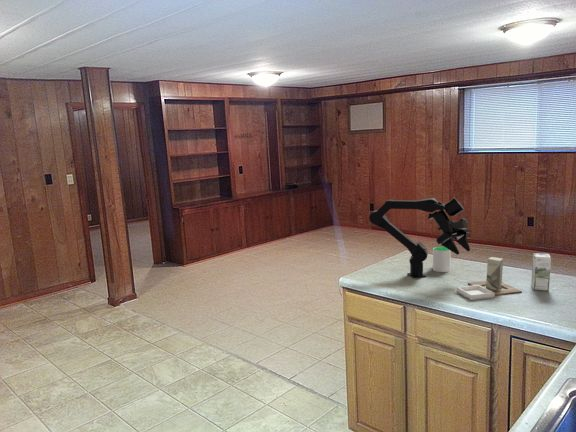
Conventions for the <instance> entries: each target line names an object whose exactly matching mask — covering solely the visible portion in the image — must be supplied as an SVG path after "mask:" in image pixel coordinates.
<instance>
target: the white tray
mask: <svg viewBox="0 0 576 432" xmlns="http://www.w3.org/2000/svg"><path fill="white" fill-rule="evenodd" d="M484 287H485V286H483V287H482V286H480V285H474V286H471V285H465V286H457V287H456V293H457V294H458V295H460V296H462V297H464V298H466V299H468V300H470V301H477V300H487V299H494V298H495V296H494V294H495V293H494V292H492V291H493V290H491V289H489V290H488V288H487V289H486V287H485V288H484ZM490 290H491V291H490Z"/></svg>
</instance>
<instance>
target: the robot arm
mask: <svg viewBox="0 0 576 432" xmlns="http://www.w3.org/2000/svg"><path fill="white" fill-rule="evenodd" d="M397 209H398V210H419V211H422V212H428V217H427V220H430V221H431V220H434V222H435V223H436V225H437V226H438V228H437V230H438V231H441V232H442V233H441V234H440V235H439V236H438V237H436V239H435V242H436V243H437V244H438V245H440V247H446V248H447V249H449V250H451V253H454V254H456V255H460V251H459V249H458V247H457V245H456V244H455V242H454V241H455V240H456V243H457V244H458V245H459V246H461V247H462V248H463V249H464V250H466V252H471V247H470V245H469V241H468V240H469V239H468V236H469V235H470V231H469V229H468V227H469V226H468V224H469V221H468V219H466V217H465V218H459V221H455V220H451V219H450V217H453V218H454V217H455V216H456V215H458V214H460V213H462V212H464V210H465V208H464V207H463V205H462V204H461V202H459V201H458V199H456V197H453V198H451V200H449V201H448V202H446V203H443V202H440V201H438V200H437V199H436V198H434V197H429V198H427V197H426V198H423V199H416V200H409V199H406V200H404V199H399V200H398V199H387V200H386V201H385V202H384V204H382V205H381V207H379V209H375V210H373V211H372V212H371V213H370V214H369V216H368V219H369V222H370V223H372V225H375V226H376V227H379V228H380V229H383V230H384V231H386V232H387V233H388V234H389V235H391V236H392V237H393V238H395V239H396V240H397V241H398V242H399V243H400V244H402V245H403V246H404V247H405V248H406V249H407V250H408V252H409V253H410V255H411V256H410V258H409V260H408V261H409V266H410V267H409V272H407V273H406V274H407V275H408V276H409V277H411V278H412V279H415V278H417V279H418V278H425V277H426V276H427V275H426V274H424V263H423V262H425V261H426V260H427V259H428V255H429V250H428V248H427V246H426V245H425V244H423V243H422V241H420V240H418V242H415V241H414V240H412V239H411V238H410V237H409V236H408V235H406V234H405V233H404V232H403V231H402V230H400V229H399V228H398V227H397V226H396V225H394V224H393V223H391V221H390V220H389V219H388V217H387V216H386V214H387V213H388V211H390V210H397Z"/></svg>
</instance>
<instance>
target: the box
mask: <svg viewBox="0 0 576 432" xmlns="http://www.w3.org/2000/svg"><path fill="white" fill-rule="evenodd" d="M503 267H504V258H501V257H495V256H490V257H489V258H487V269H486V280H485V281H486V286H485V288H487V289H489V290H492V291H494V290H501V289H502V287H501V285H502V282H503Z"/></svg>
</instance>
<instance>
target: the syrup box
mask: <svg viewBox="0 0 576 432" xmlns="http://www.w3.org/2000/svg"><path fill="white" fill-rule="evenodd" d="M551 266H552V257H551V254H549V253H535V252H534V253H532V268H531V283H530V284H531V285H530V286H531V288H532V289H533V290H534V291H545V292H550V280H551Z"/></svg>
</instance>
